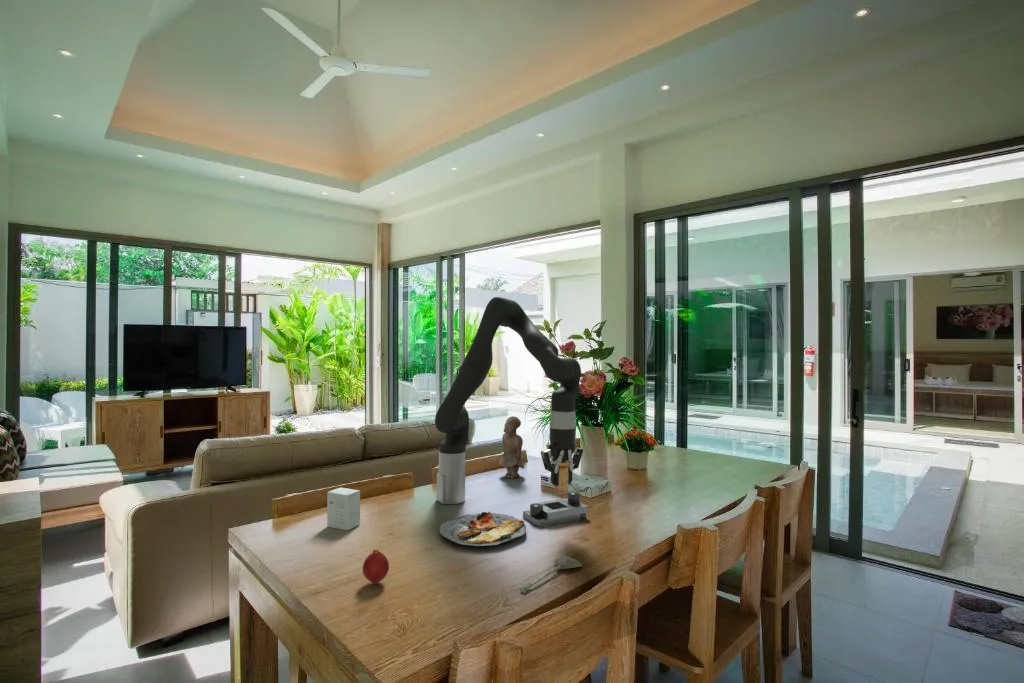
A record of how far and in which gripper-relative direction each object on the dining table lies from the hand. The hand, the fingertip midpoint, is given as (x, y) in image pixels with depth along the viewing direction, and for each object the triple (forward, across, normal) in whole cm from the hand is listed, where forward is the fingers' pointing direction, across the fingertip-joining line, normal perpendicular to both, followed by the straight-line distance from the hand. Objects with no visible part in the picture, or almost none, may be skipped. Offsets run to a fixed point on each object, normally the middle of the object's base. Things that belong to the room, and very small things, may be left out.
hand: (561, 484), depth 151 cm
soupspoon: (+15, +18, +23) cm, 32 cm away
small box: (+15, +56, -33) cm, 66 cm away
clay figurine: (+15, -16, -61) cm, 65 cm away
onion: (+15, +56, +8) cm, 58 cm away
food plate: (+15, +21, -9) cm, 27 cm away
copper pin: (+2, 0, 0) cm, 2 cm away
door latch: (+14, -5, -11) cm, 19 cm away
